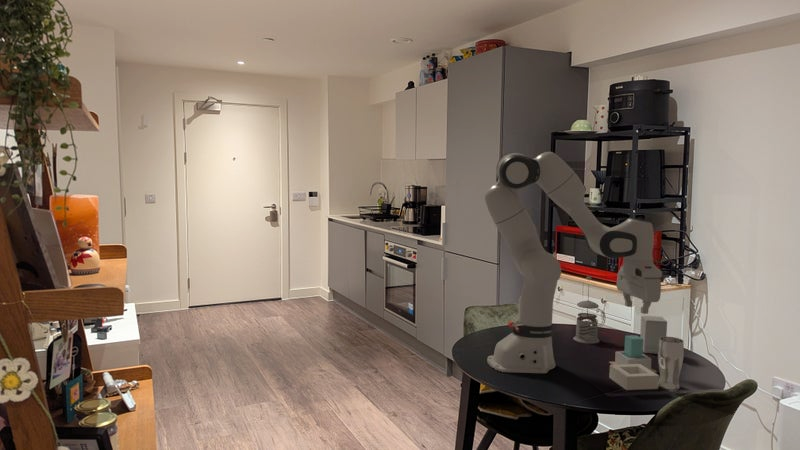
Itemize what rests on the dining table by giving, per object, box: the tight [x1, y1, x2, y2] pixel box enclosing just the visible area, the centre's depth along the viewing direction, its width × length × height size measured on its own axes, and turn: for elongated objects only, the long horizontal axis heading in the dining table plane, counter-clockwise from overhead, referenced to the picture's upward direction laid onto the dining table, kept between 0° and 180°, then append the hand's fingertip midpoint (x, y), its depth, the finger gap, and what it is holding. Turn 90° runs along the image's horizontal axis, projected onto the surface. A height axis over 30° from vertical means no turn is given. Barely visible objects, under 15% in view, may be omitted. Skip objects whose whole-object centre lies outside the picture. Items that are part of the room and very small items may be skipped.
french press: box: [573, 276, 606, 344], centre depth 215 cm, size 10×12×25 cm
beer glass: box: [657, 336, 685, 393], centre depth 167 cm, size 7×7×15 cm
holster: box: [608, 350, 658, 373], centre depth 184 cm, size 11×11×5 cm
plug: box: [623, 334, 644, 358], centre depth 183 cm, size 4×4×10 cm
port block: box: [608, 364, 660, 394], centre depth 169 cm, size 10×10×5 cm
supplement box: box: [639, 315, 668, 355], centre depth 201 cm, size 7×7×13 cm
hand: (636, 309), depth 182 cm, fingers open, 8 cm apart
